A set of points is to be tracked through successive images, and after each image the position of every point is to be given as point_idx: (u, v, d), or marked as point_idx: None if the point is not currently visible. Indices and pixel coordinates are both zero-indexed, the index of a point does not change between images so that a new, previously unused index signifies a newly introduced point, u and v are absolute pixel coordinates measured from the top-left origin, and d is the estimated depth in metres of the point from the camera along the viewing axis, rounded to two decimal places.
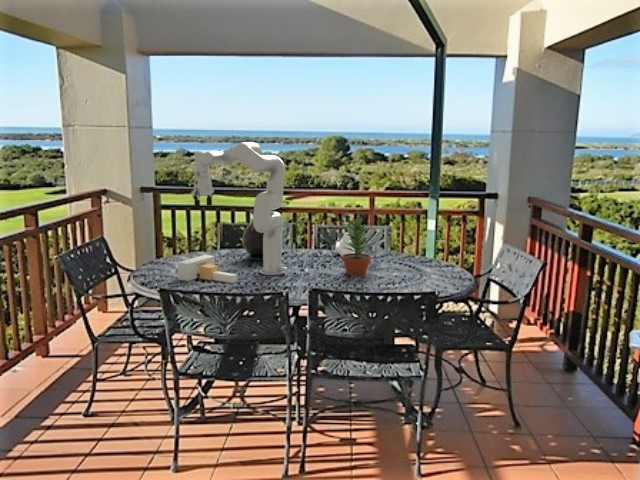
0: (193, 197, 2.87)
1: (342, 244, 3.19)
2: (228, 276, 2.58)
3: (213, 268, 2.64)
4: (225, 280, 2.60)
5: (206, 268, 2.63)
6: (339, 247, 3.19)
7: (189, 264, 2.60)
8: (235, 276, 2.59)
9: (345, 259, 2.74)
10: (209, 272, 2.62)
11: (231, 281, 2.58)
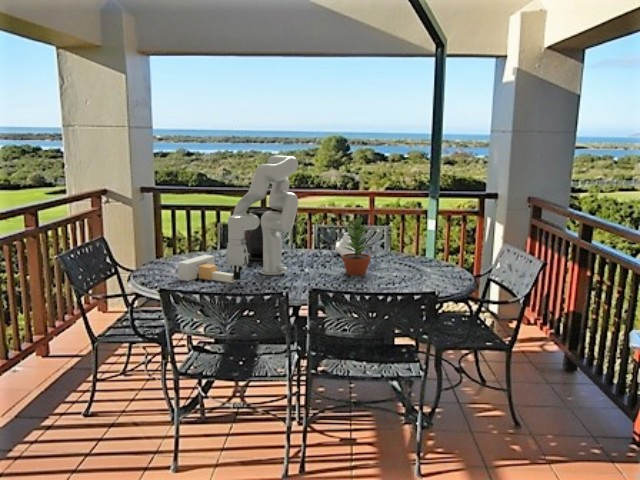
0: None
1: (342, 244, 3.19)
2: (227, 276, 2.58)
3: (212, 268, 2.64)
4: (224, 280, 2.60)
5: (205, 268, 2.63)
6: (339, 247, 3.19)
7: (189, 264, 2.60)
8: None
9: (345, 259, 2.74)
10: (208, 272, 2.62)
11: (230, 281, 2.58)
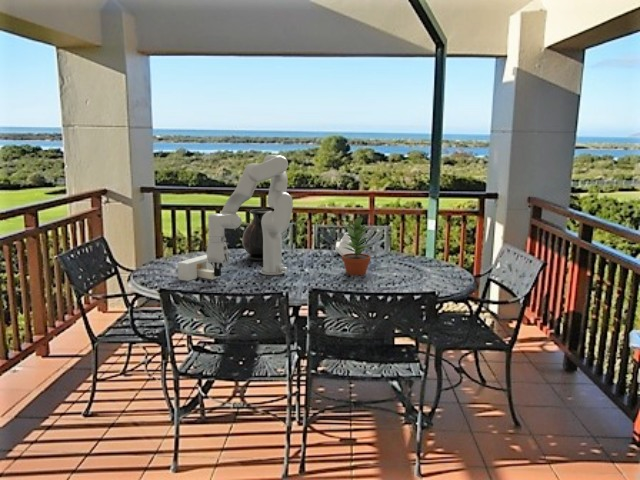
0: None
1: (342, 244, 3.19)
2: (208, 273, 2.64)
3: None
4: (205, 276, 2.65)
5: None
6: (339, 247, 3.19)
7: (189, 264, 2.60)
8: None
9: (345, 259, 2.74)
10: None
11: (211, 277, 2.64)
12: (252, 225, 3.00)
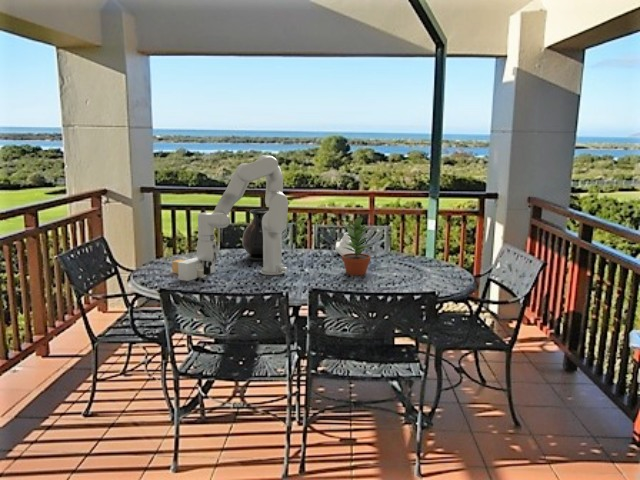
0: None
1: (342, 244, 3.19)
2: (198, 271, 2.67)
3: None
4: None
5: None
6: (339, 247, 3.19)
7: (189, 264, 2.60)
8: None
9: (345, 259, 2.74)
10: None
11: (201, 276, 2.67)
12: (252, 225, 3.00)
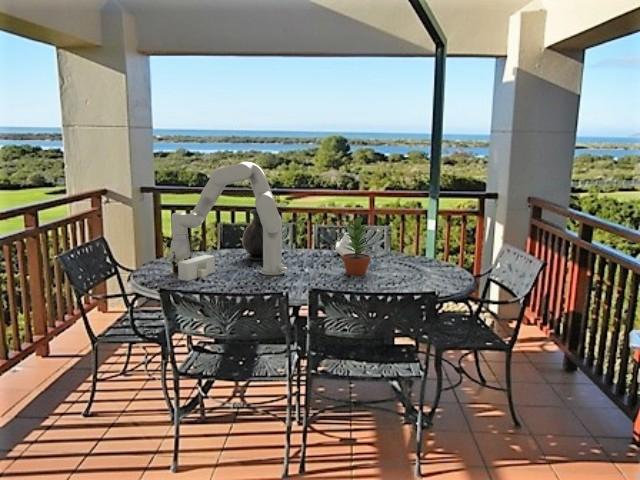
0: (189, 258, 2.79)
1: (342, 244, 3.19)
2: (198, 271, 2.67)
3: None
4: None
5: None
6: (339, 247, 3.19)
7: (189, 264, 2.60)
8: (205, 271, 2.68)
9: (345, 259, 2.74)
10: None
11: (201, 276, 2.67)
12: (252, 225, 3.00)
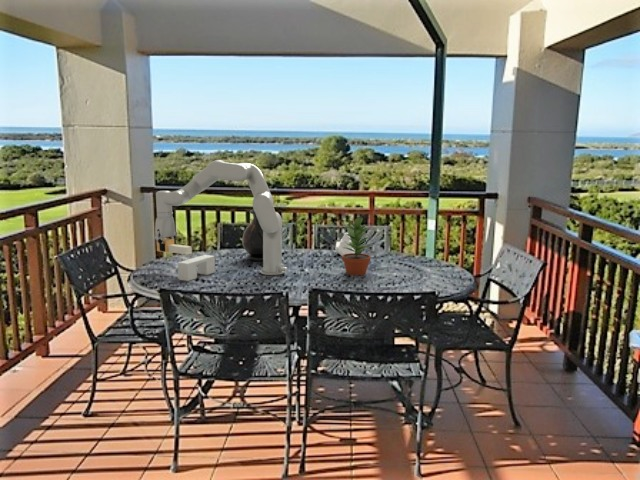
0: None
1: (342, 244, 3.19)
2: (183, 248, 2.70)
3: (169, 241, 2.75)
4: (180, 252, 2.71)
5: None
6: (339, 247, 3.19)
7: (189, 264, 2.60)
8: (190, 248, 2.71)
9: (345, 259, 2.74)
10: (165, 245, 2.74)
11: (186, 253, 2.69)
12: (252, 225, 3.00)
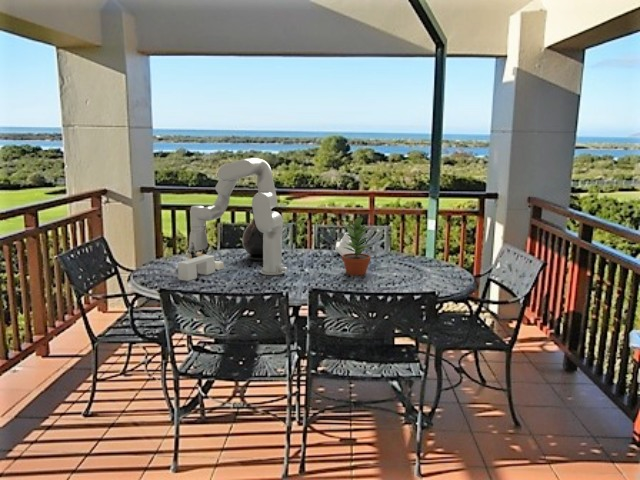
0: (207, 249, 2.95)
1: (342, 244, 3.19)
2: (215, 263, 2.83)
3: None
4: None
5: None
6: (339, 247, 3.19)
7: (189, 264, 2.60)
8: (222, 263, 2.84)
9: (345, 259, 2.74)
10: None
11: (218, 268, 2.83)
12: (252, 225, 3.00)
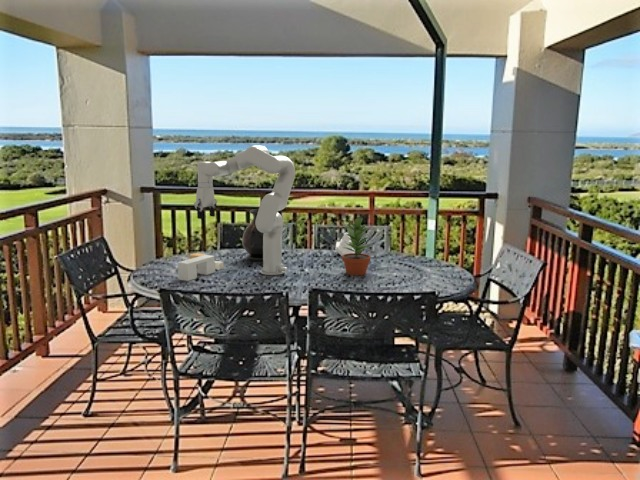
0: (215, 206, 2.91)
1: (342, 244, 3.19)
2: (215, 263, 2.83)
3: None
4: None
5: (195, 256, 2.88)
6: (339, 247, 3.19)
7: (189, 264, 2.60)
8: (222, 263, 2.84)
9: (345, 259, 2.74)
10: None
11: (218, 268, 2.83)
12: (252, 225, 3.00)
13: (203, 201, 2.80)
